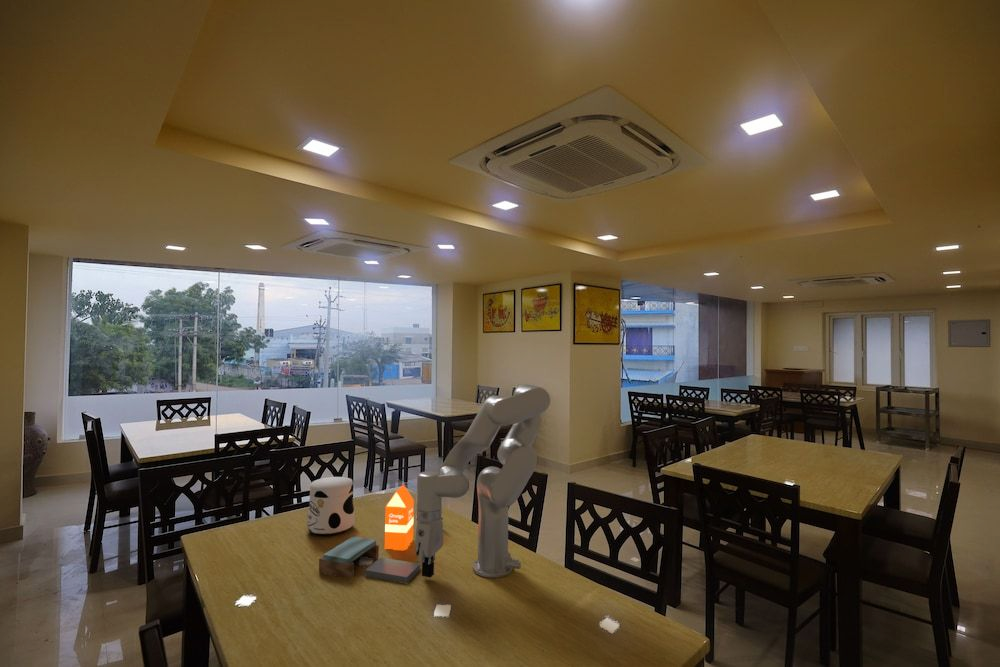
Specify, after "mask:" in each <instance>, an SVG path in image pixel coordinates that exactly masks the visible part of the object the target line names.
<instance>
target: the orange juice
mask: <svg viewBox="0 0 1000 667" xmlns="http://www.w3.org/2000/svg"><path fill="white" fill-rule="evenodd" d="M414 503H415V500H414V498H413V497H412V495H411V493H410V492H409V490H408V489H407V487H406V485H405V484H402V485H401V486H400V487H399V489H397V490H396V491H395V492H394V494H393V495H392V497H391V498H390V500H389V501H388V502H387V503H386V506H385V520H384V550H386V549H393V550H392V551H404V550H406V549H407V550H408V548H409V547H410V545H411V544H412V543H411V542H413V541H414V518H415V517H414V516H415V515H414V511H415V510H414V509H415V508H414V506H415V505H414ZM412 540H413V541H412ZM410 543H411V544H410ZM408 546H409V547H408ZM407 550H406V551H407Z"/></svg>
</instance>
